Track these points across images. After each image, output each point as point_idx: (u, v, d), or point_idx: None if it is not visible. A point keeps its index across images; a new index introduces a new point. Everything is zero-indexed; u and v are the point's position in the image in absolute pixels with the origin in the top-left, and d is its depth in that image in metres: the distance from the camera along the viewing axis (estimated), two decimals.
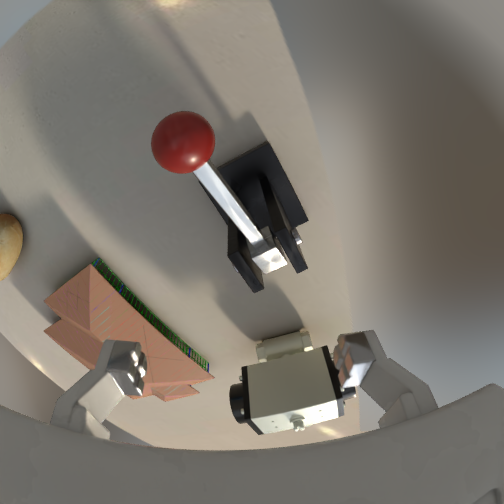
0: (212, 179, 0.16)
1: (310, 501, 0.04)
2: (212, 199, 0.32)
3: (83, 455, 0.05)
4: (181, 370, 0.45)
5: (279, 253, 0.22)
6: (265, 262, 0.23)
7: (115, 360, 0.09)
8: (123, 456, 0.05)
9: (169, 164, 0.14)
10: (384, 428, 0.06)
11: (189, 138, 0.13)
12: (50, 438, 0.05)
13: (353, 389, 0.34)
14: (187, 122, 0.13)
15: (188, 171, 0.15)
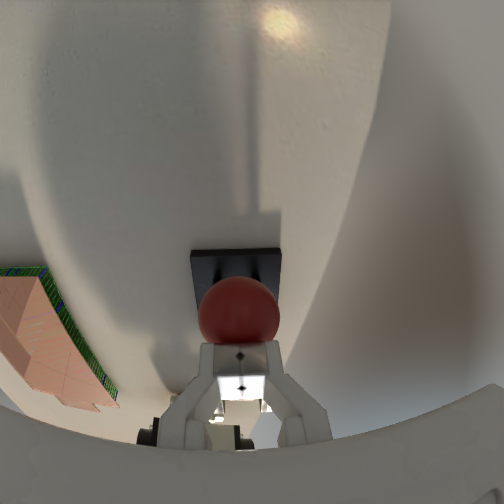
0: None
1: (311, 501, 0.04)
2: (194, 279, 0.29)
3: (83, 455, 0.05)
4: (92, 394, 0.36)
5: None
6: None
7: (221, 364, 0.09)
8: (123, 456, 0.05)
9: None
10: (384, 428, 0.06)
11: None
12: (50, 438, 0.05)
13: None
14: (265, 319, 0.11)
15: None
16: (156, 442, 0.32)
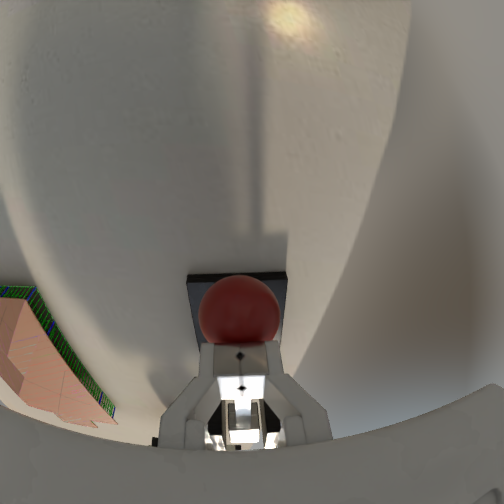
0: None
1: (311, 501, 0.04)
2: (192, 305, 0.26)
3: (83, 455, 0.05)
4: (89, 412, 0.34)
5: (258, 433, 0.17)
6: (239, 436, 0.17)
7: (221, 364, 0.09)
8: (123, 456, 0.05)
9: (217, 342, 0.11)
10: (384, 428, 0.06)
11: (260, 330, 0.11)
12: (50, 438, 0.05)
13: None
14: (265, 307, 0.11)
15: None
16: None
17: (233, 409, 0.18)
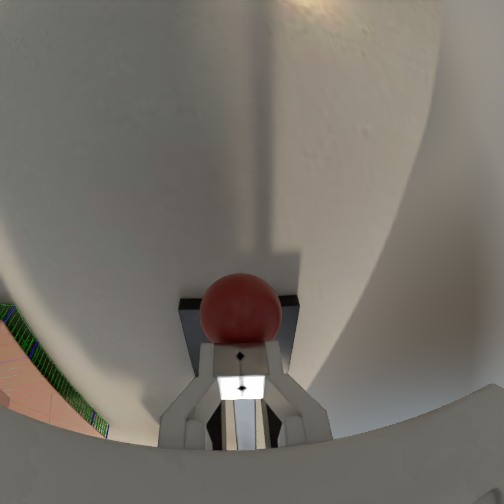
0: None
1: (311, 501, 0.04)
2: (186, 333, 0.21)
3: (83, 455, 0.05)
4: None
5: None
6: None
7: (221, 364, 0.09)
8: (123, 456, 0.05)
9: (218, 329, 0.11)
10: (384, 428, 0.06)
11: (261, 312, 0.11)
12: (50, 438, 0.05)
13: None
14: (266, 292, 0.11)
15: None
16: None
17: None
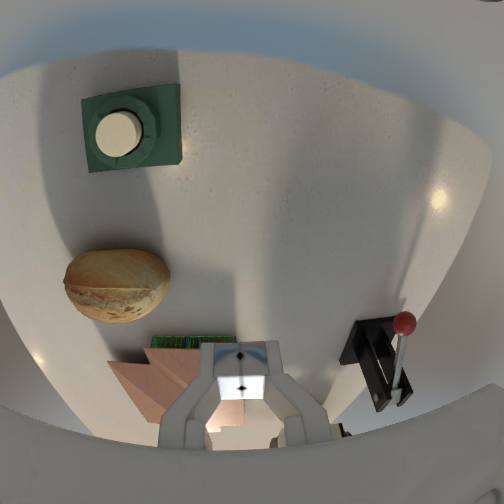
0: (404, 343, 0.35)
1: (310, 501, 0.04)
2: (354, 337, 0.43)
3: (83, 455, 0.05)
4: (232, 419, 0.51)
5: (400, 393, 0.35)
6: (393, 397, 0.34)
7: (221, 364, 0.09)
8: (123, 456, 0.05)
9: (405, 327, 0.33)
10: (384, 428, 0.06)
11: (414, 321, 0.33)
12: (50, 438, 0.05)
13: None
14: (414, 316, 0.34)
15: (406, 334, 0.34)
16: None
17: None
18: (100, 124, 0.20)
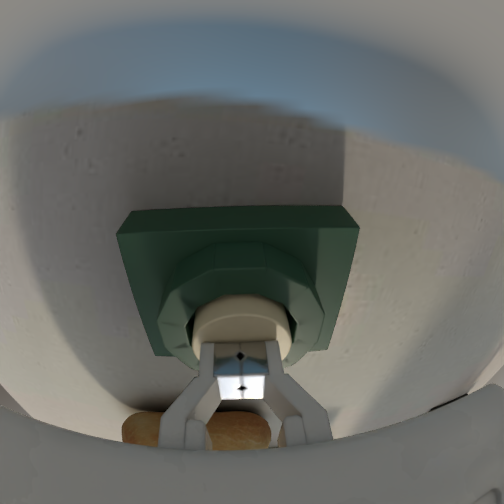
0: None
1: (311, 501, 0.04)
2: None
3: (83, 455, 0.05)
4: None
5: None
6: None
7: (222, 364, 0.09)
8: (123, 456, 0.05)
9: None
10: (384, 428, 0.06)
11: None
12: (50, 438, 0.05)
13: None
14: None
15: None
16: None
17: None
18: (204, 330, 0.10)
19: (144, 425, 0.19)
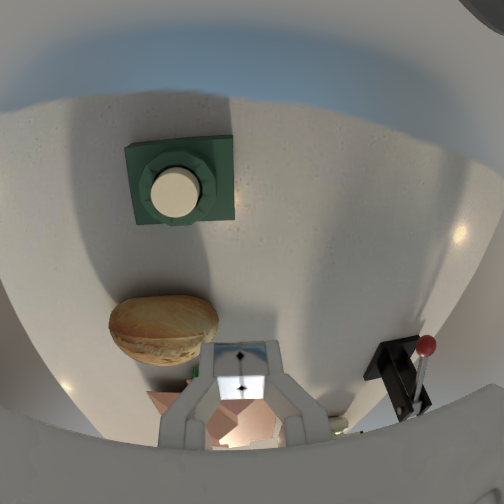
0: (425, 363, 0.36)
1: (311, 501, 0.04)
2: (378, 357, 0.45)
3: (83, 455, 0.05)
4: (262, 434, 0.52)
5: (420, 406, 0.36)
6: (414, 409, 0.36)
7: (221, 364, 0.09)
8: (123, 456, 0.05)
9: (427, 350, 0.35)
10: (384, 428, 0.06)
11: (435, 344, 0.35)
12: (50, 438, 0.05)
13: None
14: (434, 339, 0.35)
15: (427, 355, 0.35)
16: None
17: None
18: (156, 183, 0.22)
19: (125, 302, 0.31)
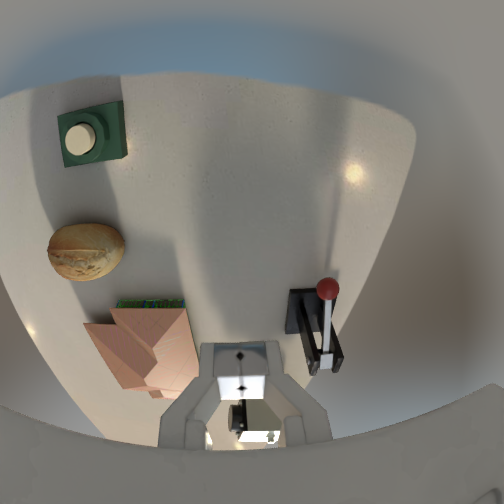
0: (329, 307, 0.42)
1: (310, 501, 0.04)
2: (290, 305, 0.51)
3: (83, 455, 0.05)
4: None
5: (332, 358, 0.42)
6: (324, 360, 0.42)
7: (222, 364, 0.09)
8: (123, 456, 0.05)
9: (325, 291, 0.41)
10: (384, 428, 0.06)
11: (335, 286, 0.41)
12: (50, 438, 0.05)
13: None
14: (336, 281, 0.41)
15: (327, 298, 0.41)
16: (246, 411, 0.54)
17: (319, 350, 0.44)
18: (67, 133, 0.28)
19: (59, 229, 0.37)
